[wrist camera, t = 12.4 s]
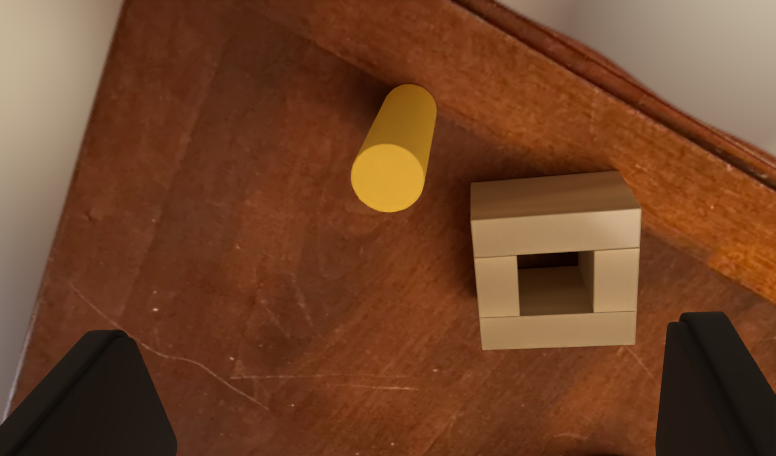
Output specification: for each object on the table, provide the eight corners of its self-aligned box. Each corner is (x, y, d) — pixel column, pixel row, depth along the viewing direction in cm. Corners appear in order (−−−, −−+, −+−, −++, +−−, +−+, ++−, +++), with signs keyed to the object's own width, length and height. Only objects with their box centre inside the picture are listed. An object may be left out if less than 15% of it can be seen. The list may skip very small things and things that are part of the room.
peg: (379, 87, 32) (344, 147, 23) (433, 80, 32) (419, 140, 23) (386, 139, 33) (357, 215, 25) (439, 134, 33) (428, 209, 24)
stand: (470, 182, 34) (470, 220, 30) (618, 169, 33) (642, 207, 28) (480, 300, 38) (481, 350, 33) (615, 293, 36) (635, 344, 32)
